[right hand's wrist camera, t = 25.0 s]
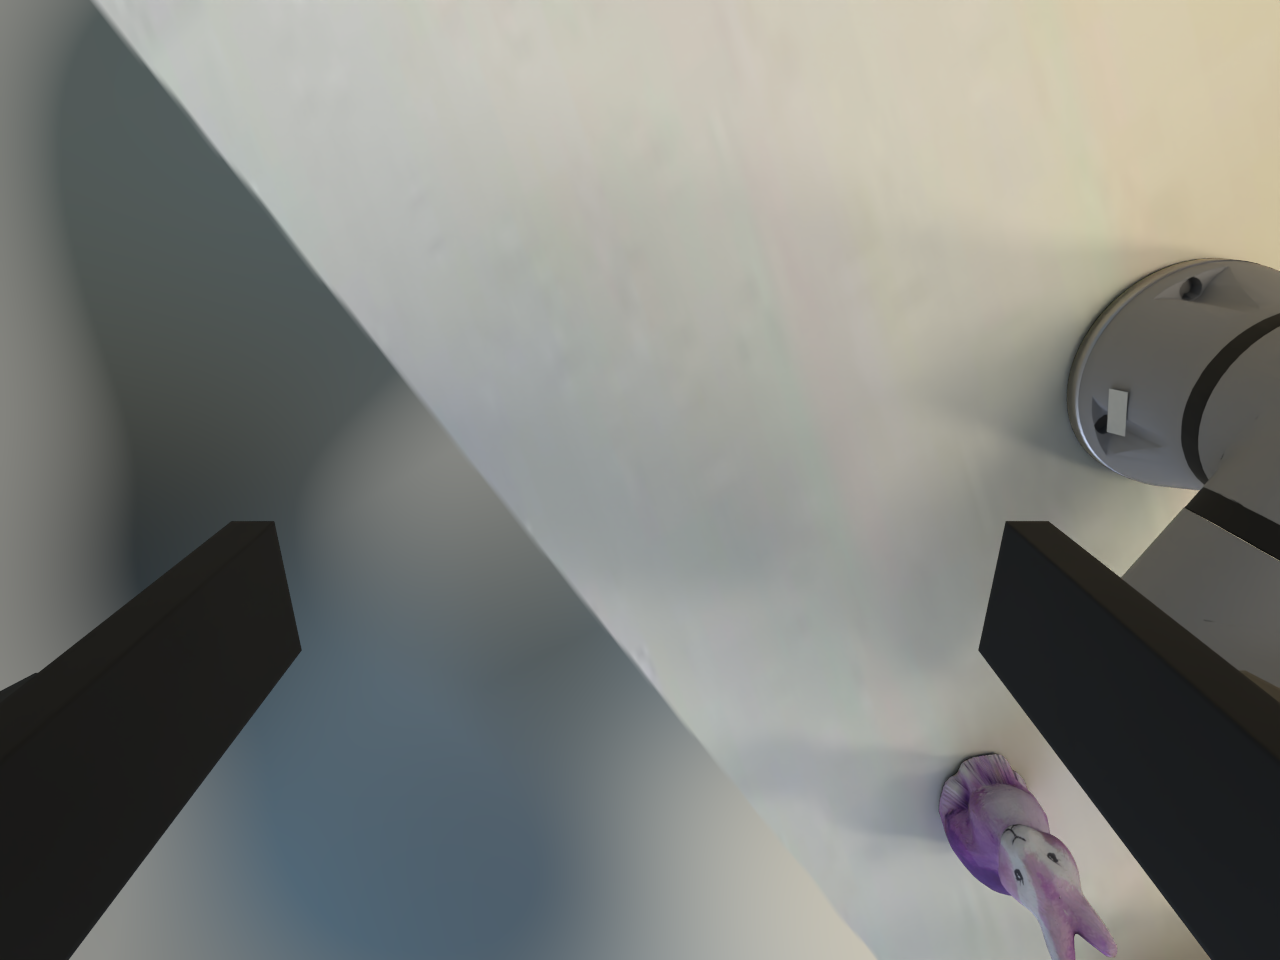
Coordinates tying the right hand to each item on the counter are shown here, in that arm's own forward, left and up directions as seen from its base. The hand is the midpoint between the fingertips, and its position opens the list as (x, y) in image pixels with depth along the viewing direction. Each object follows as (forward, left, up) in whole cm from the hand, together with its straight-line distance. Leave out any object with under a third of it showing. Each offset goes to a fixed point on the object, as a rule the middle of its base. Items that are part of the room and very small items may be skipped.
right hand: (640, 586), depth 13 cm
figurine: (-42, +30, -36) cm, 63 cm away
